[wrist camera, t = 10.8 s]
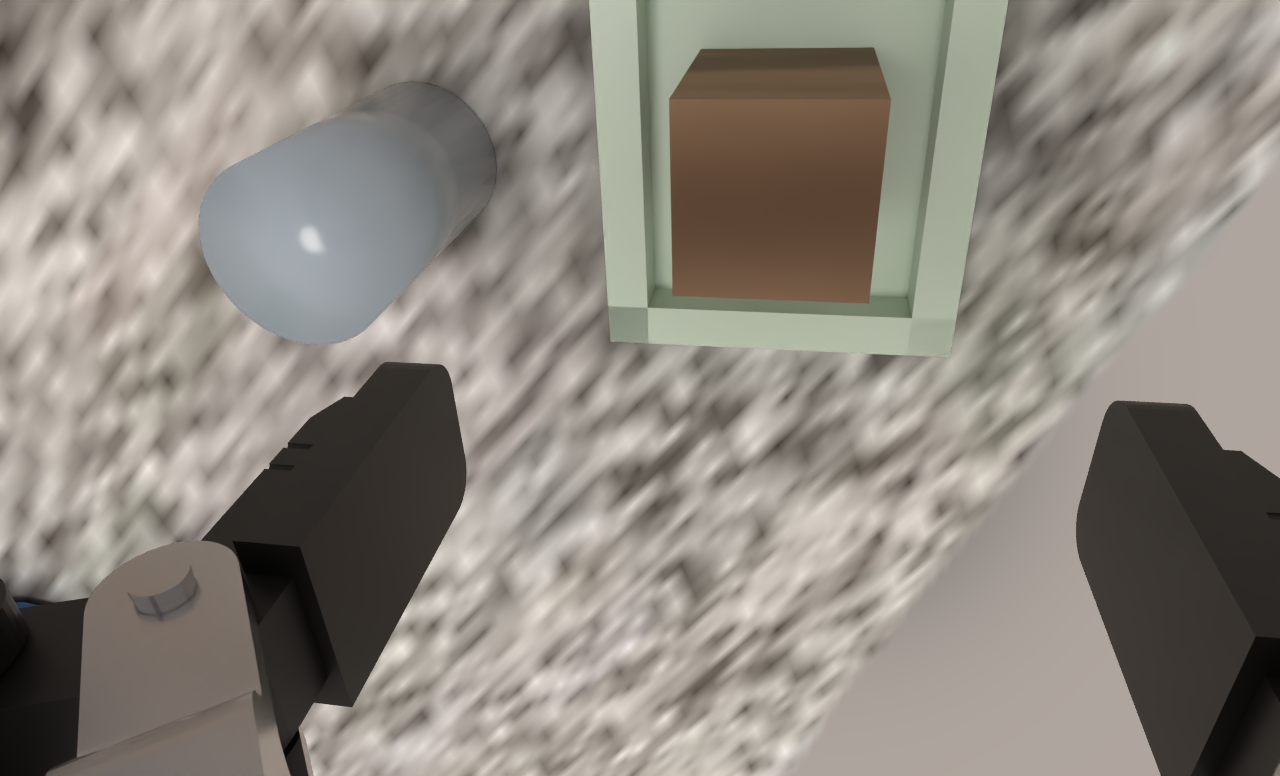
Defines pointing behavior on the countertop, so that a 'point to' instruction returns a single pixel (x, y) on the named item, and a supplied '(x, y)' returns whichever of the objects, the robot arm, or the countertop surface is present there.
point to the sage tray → (912, 177)
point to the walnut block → (777, 173)
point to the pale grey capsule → (346, 211)
